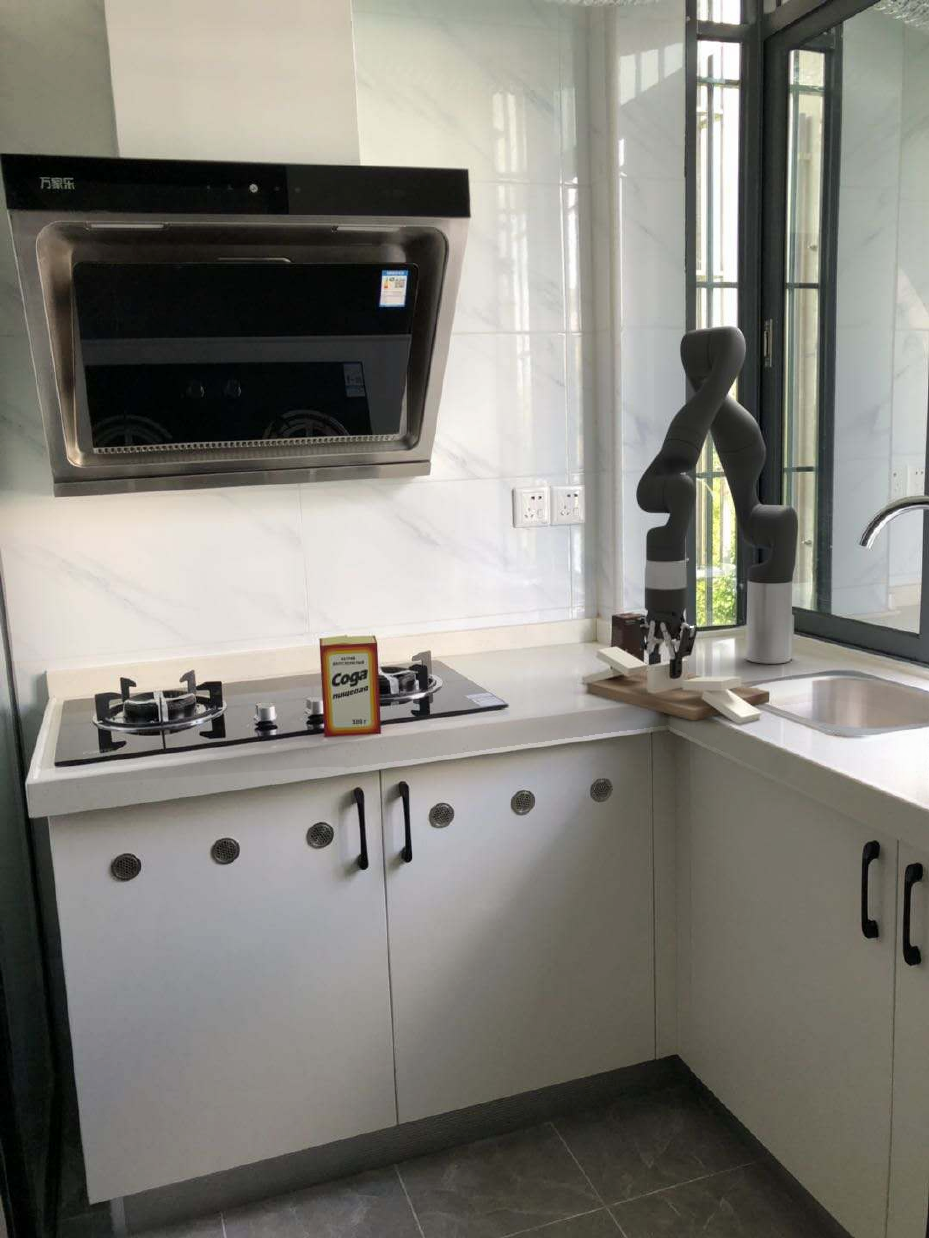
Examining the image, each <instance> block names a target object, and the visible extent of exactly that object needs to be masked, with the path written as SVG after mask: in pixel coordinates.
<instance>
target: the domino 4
mask: <svg viewBox="0 0 929 1238" xmlns="http://www.w3.org/2000/svg"><path fill="white" fill-rule="evenodd" d="M682 685H683V690H713V691H723V690H727V689H731V688H735V687H740V686H741V685H742V681H741V676H702V677H698V678H693V679H689V680H684V681H682Z"/></svg>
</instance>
